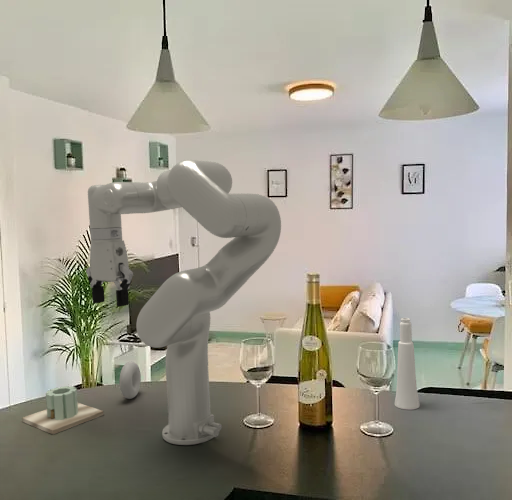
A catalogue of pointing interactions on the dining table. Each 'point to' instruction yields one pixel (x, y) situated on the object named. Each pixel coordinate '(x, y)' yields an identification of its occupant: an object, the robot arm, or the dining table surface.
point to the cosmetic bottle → (406, 370)
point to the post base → (57, 426)
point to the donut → (130, 380)
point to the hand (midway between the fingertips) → (110, 304)
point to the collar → (62, 402)
